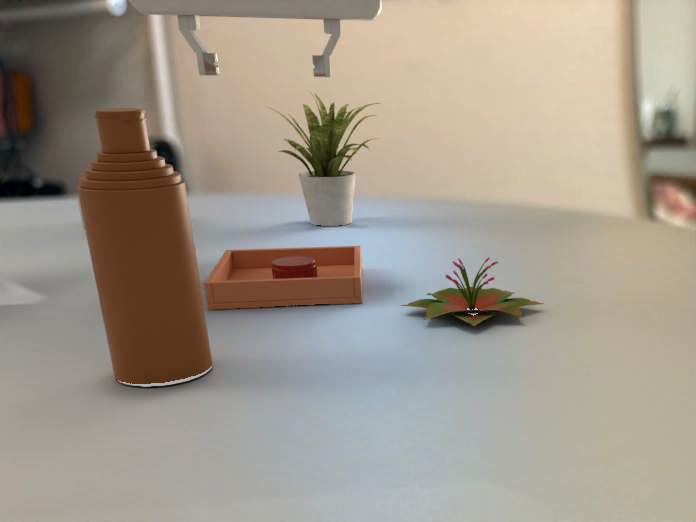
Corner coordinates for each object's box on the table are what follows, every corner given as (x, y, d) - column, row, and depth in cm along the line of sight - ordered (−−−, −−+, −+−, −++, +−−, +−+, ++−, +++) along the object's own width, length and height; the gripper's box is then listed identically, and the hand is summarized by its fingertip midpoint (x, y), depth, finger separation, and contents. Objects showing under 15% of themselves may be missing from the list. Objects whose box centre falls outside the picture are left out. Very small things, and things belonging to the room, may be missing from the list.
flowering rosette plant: (374, 313, 73) (370, 261, 72) (470, 286, 82) (469, 239, 80) (474, 343, 66) (473, 285, 64) (569, 310, 75) (570, 259, 73)
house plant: (418, 220, 113) (412, 89, 107) (345, 238, 102) (334, 93, 96) (338, 209, 120) (327, 86, 113) (262, 225, 109) (246, 89, 102)
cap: (264, 282, 81) (262, 262, 80) (297, 273, 84) (295, 254, 83) (294, 288, 79) (292, 268, 78) (326, 279, 82) (324, 259, 81)
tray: (207, 310, 74) (203, 283, 73) (229, 273, 86) (225, 249, 85) (362, 303, 76) (360, 277, 75) (362, 268, 88) (360, 245, 87)
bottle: (104, 390, 57) (47, 113, 50) (126, 359, 62) (78, 106, 56) (205, 384, 58) (163, 113, 51) (218, 353, 64) (182, 106, 57)
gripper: (99, -123, 64) (129, 75, 69) (376, -108, 67) (385, 79, 73) (120, -109, 69) (147, 73, 75) (375, -96, 73) (383, 77, 78)
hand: (266, 76), depth 74 cm, fingers open, 8 cm apart
